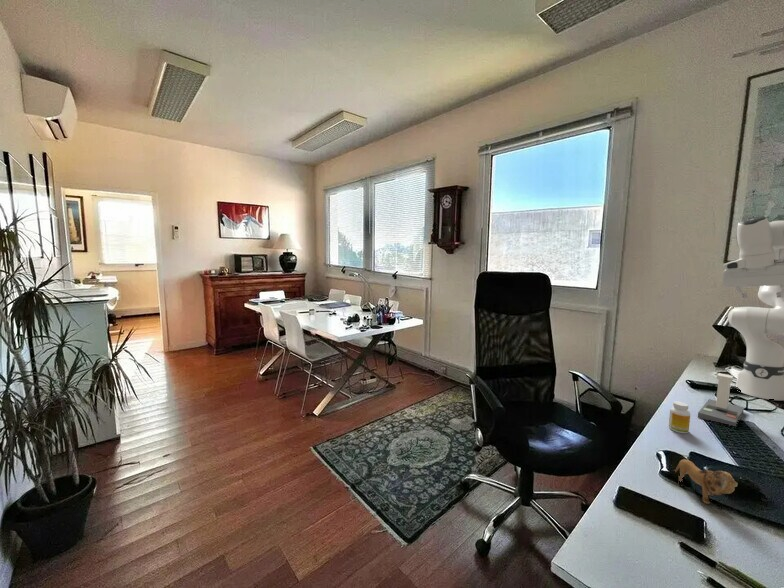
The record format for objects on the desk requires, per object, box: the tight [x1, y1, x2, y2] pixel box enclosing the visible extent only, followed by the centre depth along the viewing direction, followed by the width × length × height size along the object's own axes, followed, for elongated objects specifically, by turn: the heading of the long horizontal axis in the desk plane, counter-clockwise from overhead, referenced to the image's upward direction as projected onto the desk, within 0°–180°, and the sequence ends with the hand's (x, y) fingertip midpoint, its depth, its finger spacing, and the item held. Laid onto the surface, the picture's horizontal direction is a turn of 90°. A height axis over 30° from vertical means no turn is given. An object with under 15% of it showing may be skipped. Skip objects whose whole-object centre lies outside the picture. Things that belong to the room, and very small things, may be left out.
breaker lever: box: [715, 372, 734, 411], centre depth 127 cm, size 4×4×13 cm
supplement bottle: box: [668, 400, 691, 434], centre depth 116 cm, size 5×5×10 cm
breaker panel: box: [697, 398, 745, 427], centre depth 128 cm, size 20×10×2 cm, turn 127°
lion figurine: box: [673, 458, 739, 505], centre depth 85 cm, size 15×5×9 cm, turn 13°
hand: (761, 297), depth 124 cm, fingers open, 8 cm apart
